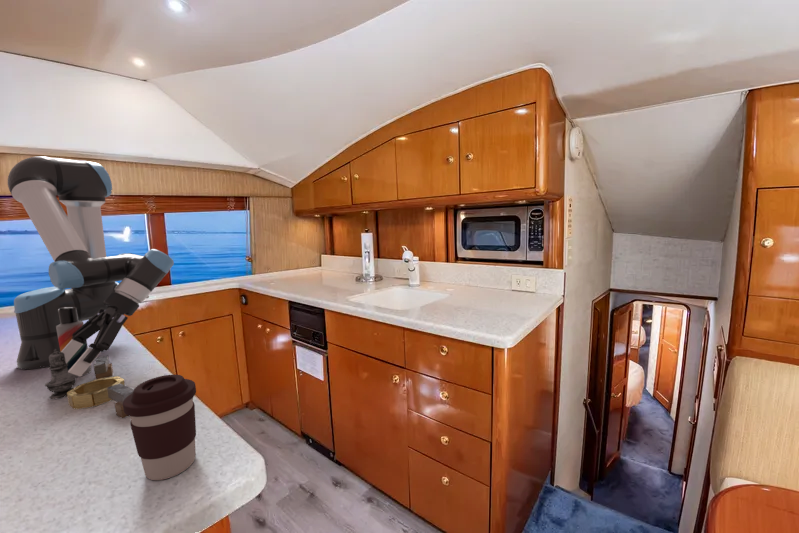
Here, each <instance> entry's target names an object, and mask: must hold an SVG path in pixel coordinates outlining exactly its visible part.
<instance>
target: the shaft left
mask: <svg viewBox="0 0 799 533" xmlns="http://www.w3.org/2000/svg"><path fill="white" fill-rule="evenodd" d="M93 372H94V376H95V377H94V378H95V380H96V379H100V378H106V377H114V376H113V375H114V368H113V363H112V362H110V359H109V355H108V354H107V355H102V356H97V358H96V359H95V360H94V364H93Z"/></svg>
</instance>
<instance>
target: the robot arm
mask: <svg viewBox="0 0 799 533" xmlns="http://www.w3.org/2000/svg"><path fill="white" fill-rule="evenodd" d="M7 188H8V191H9V192H10V194H11V196H12V198H13V199H14V200H15V201H17V202H18V203H20V204H22V207H23V208H24V210H25V211H26V213H27V215H28V216H29V219H30V220H31V222H32V224H33V227H35V229H36V231H37V232H38V235H39V236H40V239H41V240H42V242H43V244H44V245H45V247H46V249H47V251H48V252H49V255H50V256H51V259H52V260H53V261H52V262H51V263H50V264H49V266H48V277H49V278H50V283H51V284H52V285H53V286H50V287H44V288H39V289H38V288H37V289H34V290H29V291H27V292H24V293H21V294H18V295H17V296H16V297H15V298H14V299H13V306H14V307H13V308H14V313H15V316H16V322H17V328H18V331H19V337H20V347H19V351H18V354H17V358H16V365H17V366H16V367H17V369H19V370H35V369H41V368H46V367H50V362H49V355H51V354H52V353H53V352H54V350H55V349H57V351H58V352H63V353H64V355H65V361H66V363H67V362H68V361H69V360H70V359H71V358H72V357H73V355H74V354H75V353H76V352H77V351H78V350H79V349H80V347H81V346H82V345H83V344H85V343H86V340H88V339H90V338H91V337H92V336H93V335H95V334H96V333H97V332H98V333H97V335H96V337H95V339H94V341H93V343H89V344H88V349H87V350H86V351H85V352H84V353H83V355H82V356H81V357H80V358H79V359H78V360H77V362H76V363H75V364H74V365H73V366H72V367H71V369H70V370H69V371H68V372H69V373H72V374H74V375H77V376H79V378H80V377H83V376H82V374H83V373H84V372H85V371H86V370H87V368H88V367H89V366H90V365H91V366H92V364H93V362H95V361H96V359H97V357H99V355H100V354H101V353H103V352H104V351H105V352H106V351H109V350H110V348H111V347H112V345H113V343H114V341H115V339H116V338H117V336H118V334H119V332H120V331H121V328H122V327H123V325H124V324H125V323H126V322H127V320H128V319H129V317H131V316H133V315H134V314H135V312H136V311H137V310H138V309H139V307H140V304H143V302H144V301H145V300H147V299H149V298H150V296H149V295H150V294H151V293H152V292H153V290H155V288H156V287H158V284H160V282H162V280H163V279H164V277H166V276H167V274H168V273H169V271H170V270H171V269H172V268H173V266H174V265H175V264H174V263H175V262H174V259H173V258H172V257H171V256H169V255H168V254H167V253H165V252H163V251H161V250H159V249H156V248H151V249H150V250H148V251H147V252H146V253H144V255H139V254H134V253H131V252H130V253H129V252H128V253H125V252H124V253H119V254H117V255H111V256H107V250H106V244H105V243H106V242H105V241H106V240H105V234H104V224H103V217H102V209H101V207H102V206H103V205H104V204H106V198H108V197H110V196H111V195H112V191H113V183H112V180H111V176H110V174H109V173H108V171H107V170H106V168H105V167H104V166H103V165H102V164H100V163H98V162H93V161H87V160H82V159H69V158H61V157H60V158H59V157H49V156H30V157H27V158H24V159H22V160H21V161H19V162H17V163H16V164H15V165H14V166H13V167H12V168H11V170H10V172H9V173H8V175H7ZM57 196H58V198H57ZM61 203H62V204H63V205H64V206H65V208H66V212H67V213H66V212H65V210H64V208H63V207H62V204H61ZM64 307H75V308H76V309H77V315H78V321H83V322H84V321H85V323H84V324H83V325H82V326H81V327H80V328H79V329H78V330H77V331H75V332H74V333H73V334H72V336H73V338H72V340H71V341H70V342H69V343H68V344H67V345H66V346H65V348H64V349H63V350H62V351H60V346H59V341H58V335H57V329H56V326H57V325H59V324H60V319H59V314H58V310H59V308H64ZM80 342H81V343H80ZM82 343H83V344H82Z"/></svg>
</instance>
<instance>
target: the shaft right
mask: <svg viewBox="0 0 799 533" xmlns="http://www.w3.org/2000/svg"><path fill="white" fill-rule="evenodd" d="M134 389H135V388H131V387H130V386H127V385H126V384H125V385H123V384H120V383H119V384H116V385H113V386H111V387H108V388H107V391H108V397H109V398H110V399H112V400H111V401H115V403H113V404H114V408H115V414H116V416H117V417H119V418H121V419H125V418H127V417H129V416H128V415H126V414H125V413H124V409H123V401H124V400H125V398H126V397H127V396H129V395H130V394H132V393H133V391H134Z"/></svg>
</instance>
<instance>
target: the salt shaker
mask: <svg viewBox="0 0 799 533" xmlns="http://www.w3.org/2000/svg"><path fill="white" fill-rule="evenodd" d="M49 362H50V366H49V367H48V370H49V371H50V374H51V377H50V380H49V381H48V382H46V383H45V384H44V386H45V387H46V388H47V390H48V391H49V392H51V393H52V394H51V395H49V397H48V399H49V400H58V399H63V398H66V397H67V392H69V391H70V390H72V389H73V388H74V386H75V385H76V381H77V378H78V377H77V376H71V375H70V374H69V373H68V369H67V365H68V364H67V363H66V361H65V355H64V353H63V352H58V351H57V349H55V350H54V352H53V353H52V354H51V355H49ZM67 398H68V397H67Z"/></svg>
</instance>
